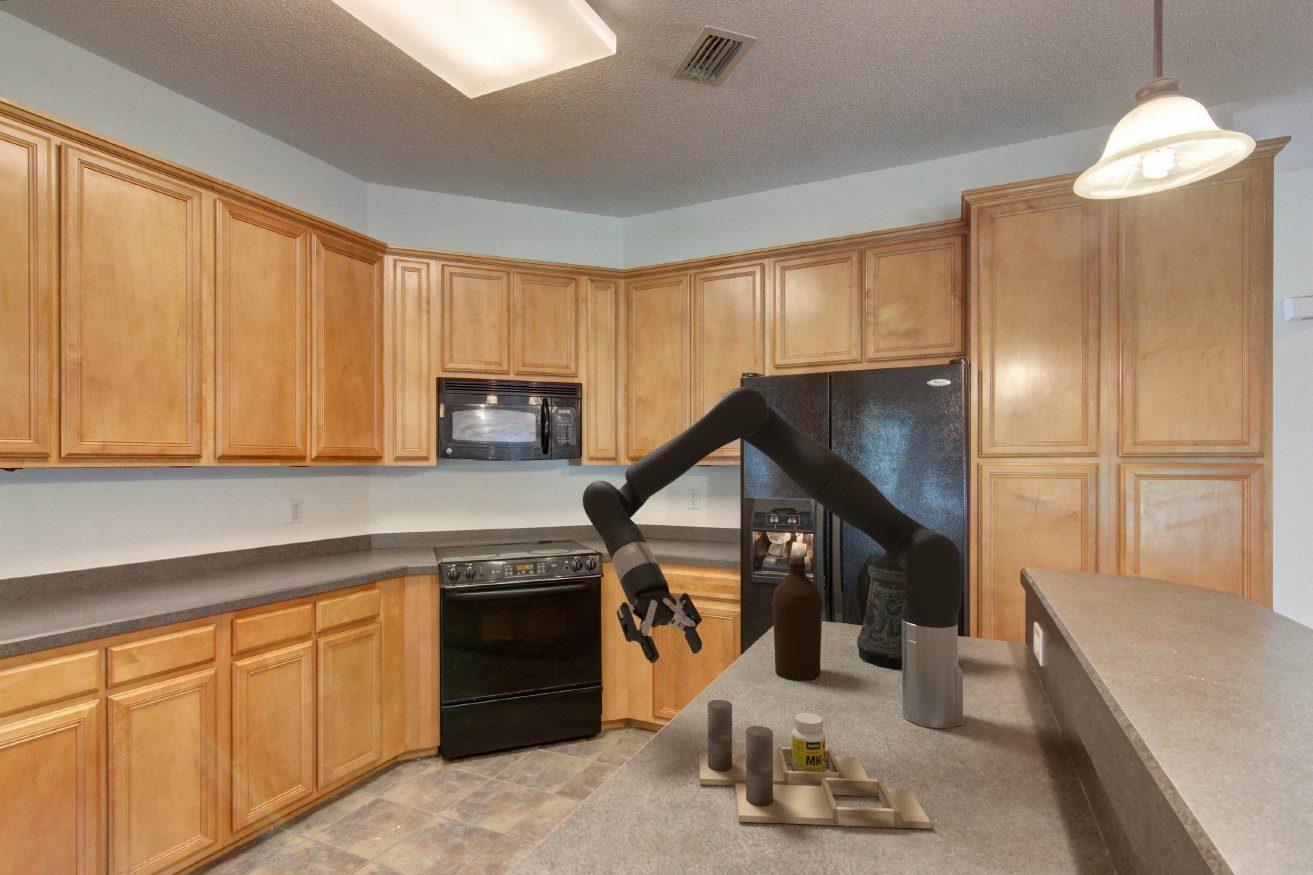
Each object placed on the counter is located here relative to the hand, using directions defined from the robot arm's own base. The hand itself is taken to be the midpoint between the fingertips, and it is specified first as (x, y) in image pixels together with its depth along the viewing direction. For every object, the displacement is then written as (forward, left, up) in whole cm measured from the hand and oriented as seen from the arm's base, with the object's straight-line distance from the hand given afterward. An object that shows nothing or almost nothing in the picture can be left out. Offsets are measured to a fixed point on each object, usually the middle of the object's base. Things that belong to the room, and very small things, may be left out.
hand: (677, 655), depth 106 cm
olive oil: (-25, -35, -15) cm, 46 cm away
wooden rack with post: (-16, +9, -14) cm, 23 cm away
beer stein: (-50, -47, -15) cm, 70 cm away
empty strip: (-21, +18, -14) cm, 31 cm away
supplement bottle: (-20, +9, -15) cm, 26 cm away
